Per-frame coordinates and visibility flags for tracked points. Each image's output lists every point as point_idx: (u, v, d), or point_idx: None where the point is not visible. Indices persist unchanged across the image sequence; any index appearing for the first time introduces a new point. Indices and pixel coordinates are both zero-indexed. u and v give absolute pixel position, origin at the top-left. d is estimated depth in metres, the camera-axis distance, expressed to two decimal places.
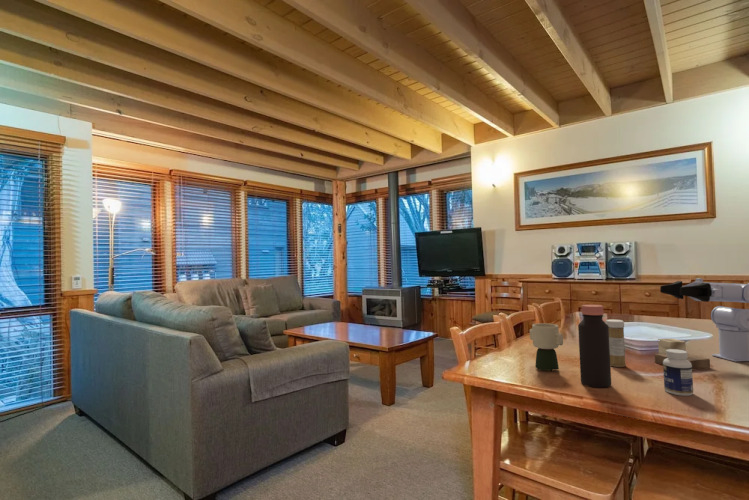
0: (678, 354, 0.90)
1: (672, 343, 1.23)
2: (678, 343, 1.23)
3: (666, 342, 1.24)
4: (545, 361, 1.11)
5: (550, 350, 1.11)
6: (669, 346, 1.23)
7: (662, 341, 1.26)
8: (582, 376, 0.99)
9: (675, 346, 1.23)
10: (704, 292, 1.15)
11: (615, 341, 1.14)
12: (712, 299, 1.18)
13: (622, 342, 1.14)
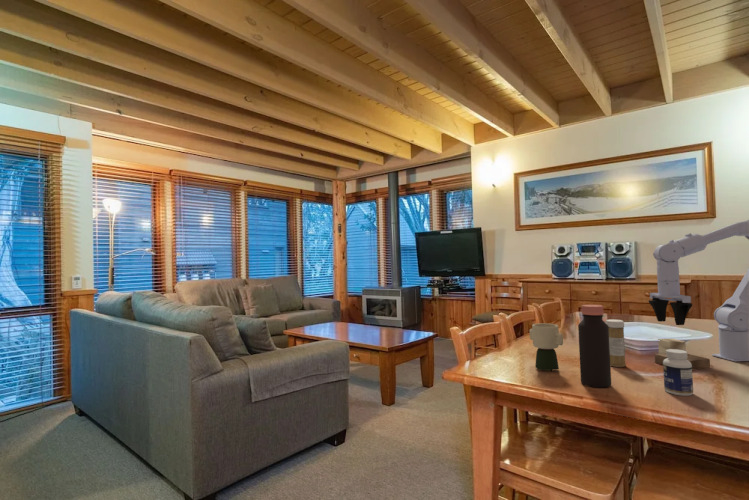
0: (678, 354, 0.90)
1: (672, 343, 1.23)
2: (678, 343, 1.23)
3: (666, 342, 1.24)
4: (545, 361, 1.11)
5: (550, 350, 1.11)
6: (669, 346, 1.23)
7: (662, 341, 1.26)
8: (582, 376, 0.99)
9: (675, 346, 1.23)
10: (681, 304, 1.21)
11: (615, 341, 1.14)
12: (679, 287, 1.24)
13: (622, 342, 1.14)
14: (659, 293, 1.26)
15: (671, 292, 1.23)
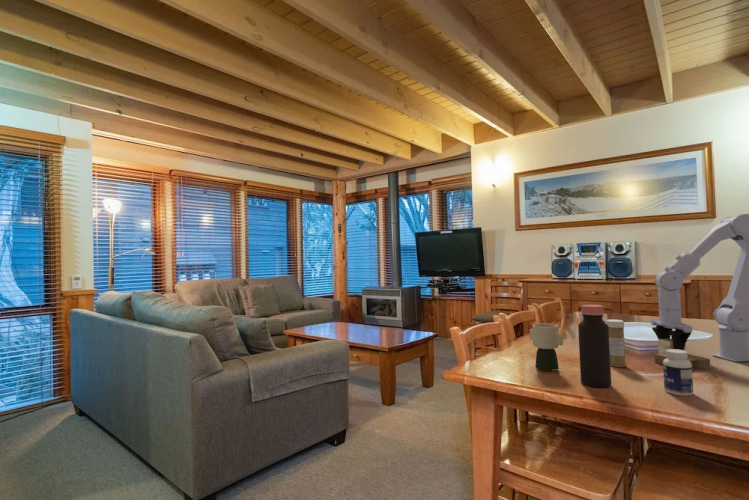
0: (678, 354, 0.90)
1: (672, 343, 1.23)
2: None
3: (666, 342, 1.24)
4: (545, 361, 1.11)
5: (550, 350, 1.11)
6: (669, 346, 1.23)
7: (662, 341, 1.26)
8: (582, 376, 0.99)
9: None
10: None
11: (615, 341, 1.14)
12: None
13: (622, 342, 1.14)
14: (660, 321, 1.26)
15: (672, 320, 1.23)
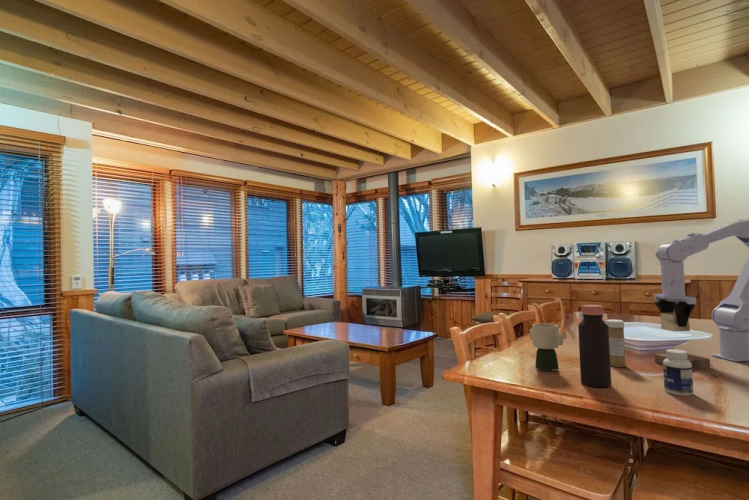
0: (678, 354, 0.90)
1: (675, 316, 1.19)
2: None
3: (669, 315, 1.21)
4: (545, 361, 1.11)
5: (550, 350, 1.11)
6: (672, 319, 1.20)
7: (665, 314, 1.22)
8: (582, 376, 0.99)
9: None
10: (684, 305, 1.18)
11: (615, 341, 1.14)
12: (684, 287, 1.20)
13: (622, 342, 1.14)
14: (663, 294, 1.22)
15: (676, 293, 1.19)
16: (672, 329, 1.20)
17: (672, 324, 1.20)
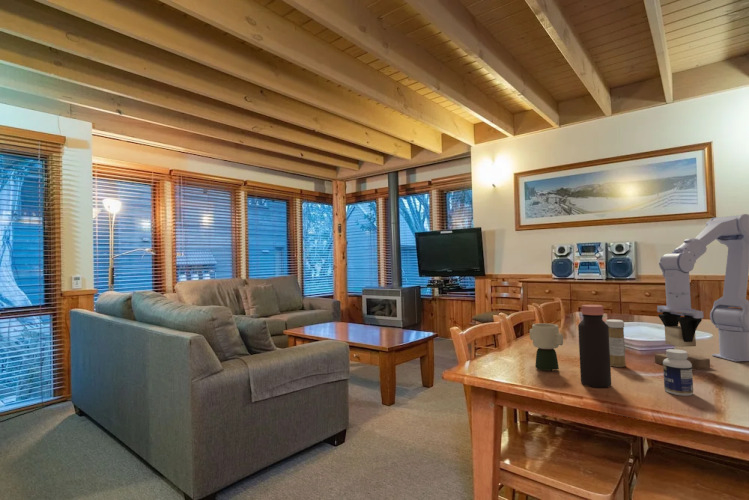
0: (678, 354, 0.90)
1: (680, 330, 1.12)
2: None
3: (674, 329, 1.13)
4: (545, 361, 1.11)
5: (550, 350, 1.11)
6: (677, 334, 1.12)
7: (669, 328, 1.15)
8: (582, 376, 0.99)
9: None
10: (690, 319, 1.11)
11: (615, 341, 1.14)
12: None
13: (622, 342, 1.14)
14: (668, 307, 1.15)
15: (681, 306, 1.12)
16: (677, 344, 1.12)
17: (677, 339, 1.12)
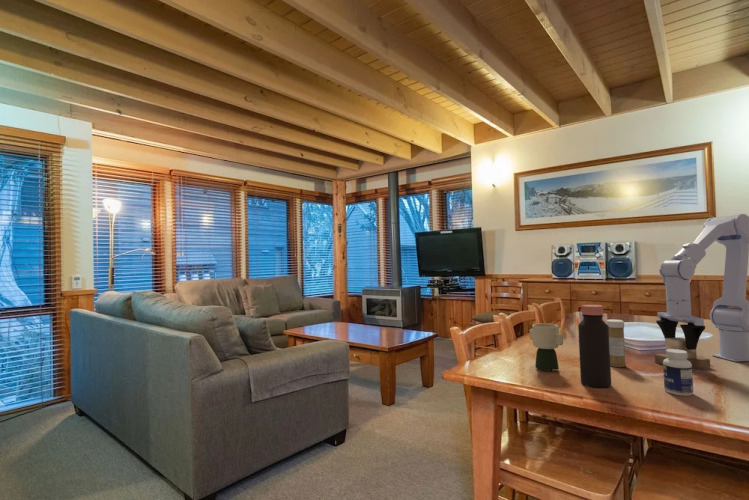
0: (678, 354, 0.90)
1: (681, 342, 1.12)
2: None
3: (674, 341, 1.13)
4: (545, 361, 1.11)
5: (550, 350, 1.11)
6: (678, 346, 1.12)
7: (670, 340, 1.15)
8: (582, 376, 0.99)
9: (684, 346, 1.12)
10: None
11: (615, 341, 1.14)
12: (690, 307, 1.13)
13: (622, 342, 1.14)
14: (668, 313, 1.15)
15: (681, 312, 1.12)
16: None
17: None
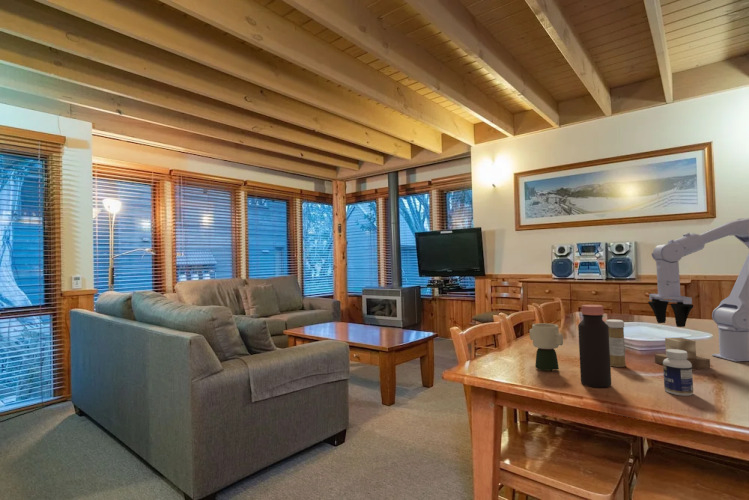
0: (678, 354, 0.90)
1: (680, 342, 1.12)
2: (687, 343, 1.12)
3: (674, 341, 1.13)
4: (545, 361, 1.11)
5: (550, 350, 1.11)
6: (677, 346, 1.12)
7: (669, 340, 1.15)
8: (582, 376, 0.99)
9: (684, 346, 1.12)
10: None
11: (615, 341, 1.14)
12: (679, 287, 1.22)
13: (622, 342, 1.14)
14: (659, 294, 1.23)
15: (671, 293, 1.21)
16: None
17: None
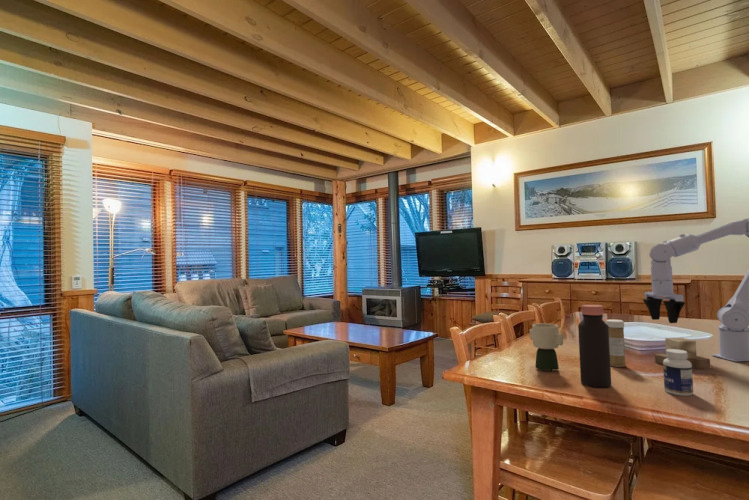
0: (678, 354, 0.90)
1: (681, 343, 1.12)
2: (687, 343, 1.12)
3: (674, 341, 1.13)
4: (545, 361, 1.11)
5: (550, 350, 1.11)
6: (677, 346, 1.12)
7: (670, 340, 1.15)
8: (582, 376, 0.99)
9: (684, 346, 1.12)
10: None
11: (615, 341, 1.14)
12: (672, 286, 1.28)
13: (622, 342, 1.14)
14: (653, 292, 1.30)
15: (664, 291, 1.27)
16: None
17: None
